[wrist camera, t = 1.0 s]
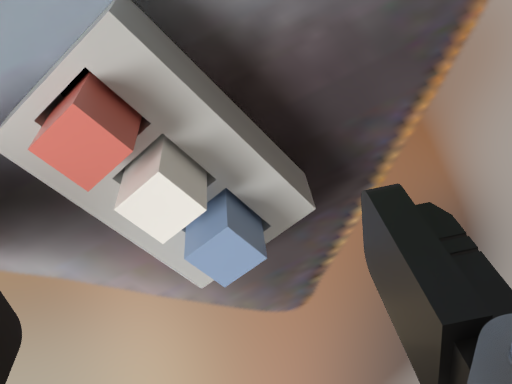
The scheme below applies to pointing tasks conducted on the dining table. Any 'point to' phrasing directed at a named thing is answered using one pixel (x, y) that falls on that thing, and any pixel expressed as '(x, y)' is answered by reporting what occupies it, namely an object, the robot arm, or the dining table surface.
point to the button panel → (161, 131)
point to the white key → (162, 190)
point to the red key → (87, 133)
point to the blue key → (225, 239)
